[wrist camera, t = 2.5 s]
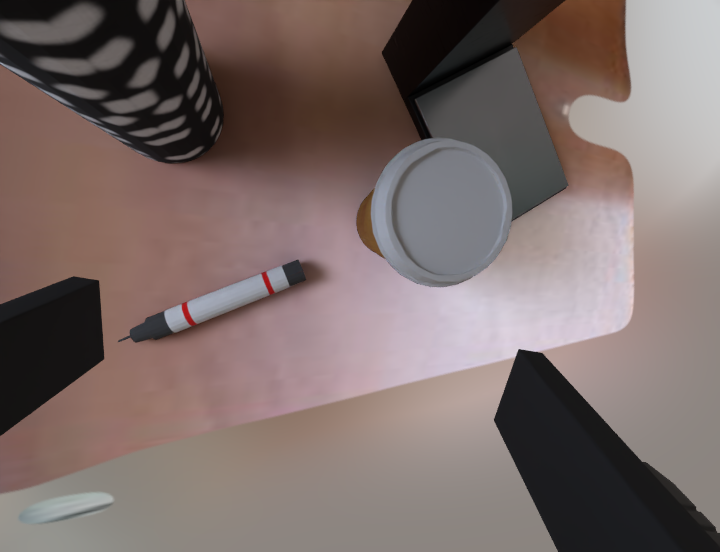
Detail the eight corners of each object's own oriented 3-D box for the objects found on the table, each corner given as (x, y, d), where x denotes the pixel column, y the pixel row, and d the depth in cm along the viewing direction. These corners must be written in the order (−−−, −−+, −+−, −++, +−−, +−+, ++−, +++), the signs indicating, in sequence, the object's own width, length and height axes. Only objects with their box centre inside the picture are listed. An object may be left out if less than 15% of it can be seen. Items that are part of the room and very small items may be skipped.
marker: (297, 258, 31) (298, 259, 29) (305, 278, 32) (307, 281, 30) (119, 327, 28) (108, 333, 26) (130, 348, 29) (120, 356, 27)
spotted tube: (132, 31, 26) (-249, -534, 7) (239, 87, 29) (170, -228, 9) (89, 132, 26) (-406, -158, 7) (200, 181, 29) (50, 59, 9)
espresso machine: (505, 49, 34) (1163, -488, 9) (559, 189, 37) (1158, 84, 12) (403, 101, 32) (876, -398, 7) (469, 244, 35) (959, 256, 10)
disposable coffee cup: (393, 292, 34) (457, 319, 22) (317, 227, 31) (344, 220, 20) (453, 216, 34) (544, 205, 23) (383, 148, 32) (445, 96, 20)
